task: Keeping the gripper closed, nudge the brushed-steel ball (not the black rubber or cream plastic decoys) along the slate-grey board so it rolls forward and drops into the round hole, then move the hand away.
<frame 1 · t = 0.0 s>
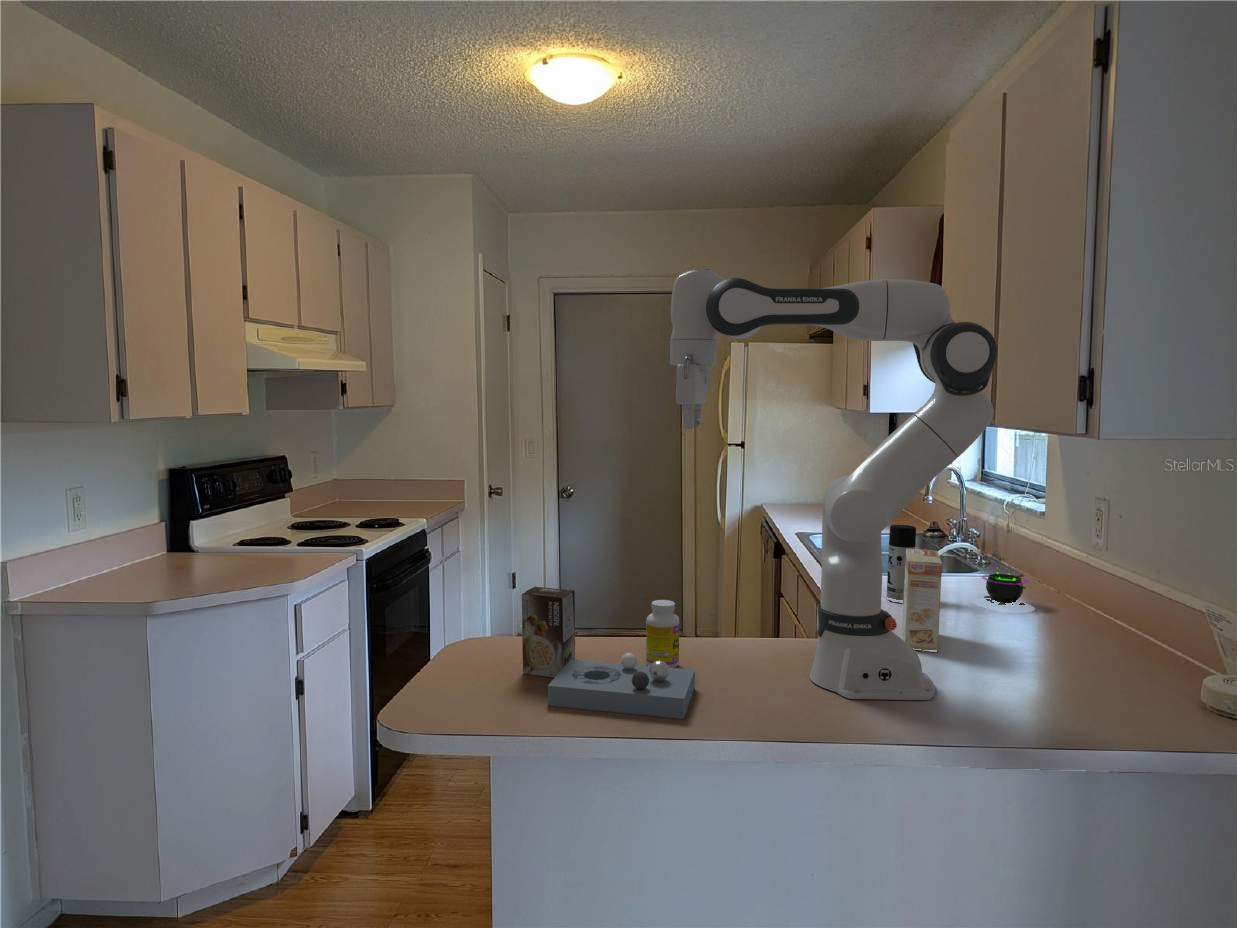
hand: (692, 427, 151), 48 cm above the countertop, fingers open, 8 cm apart
coffeecake box: (919, 642, 173), on the countertop
toy cauldron: (1003, 606, 203), on the countertop
cream ball: (628, 661, 144), point 5 cm above the countertop, touching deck
coffee box: (549, 672, 153), on the countertop
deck: (623, 696, 141), on the countertop
spray can: (899, 601, 207), on the countertop
supplement bottle: (662, 666, 157), on the countertop
steel ball: (659, 670, 139), point 5 cm above the countertop, touching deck
black ball: (640, 680, 135), point 5 cm above the countertop, touching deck
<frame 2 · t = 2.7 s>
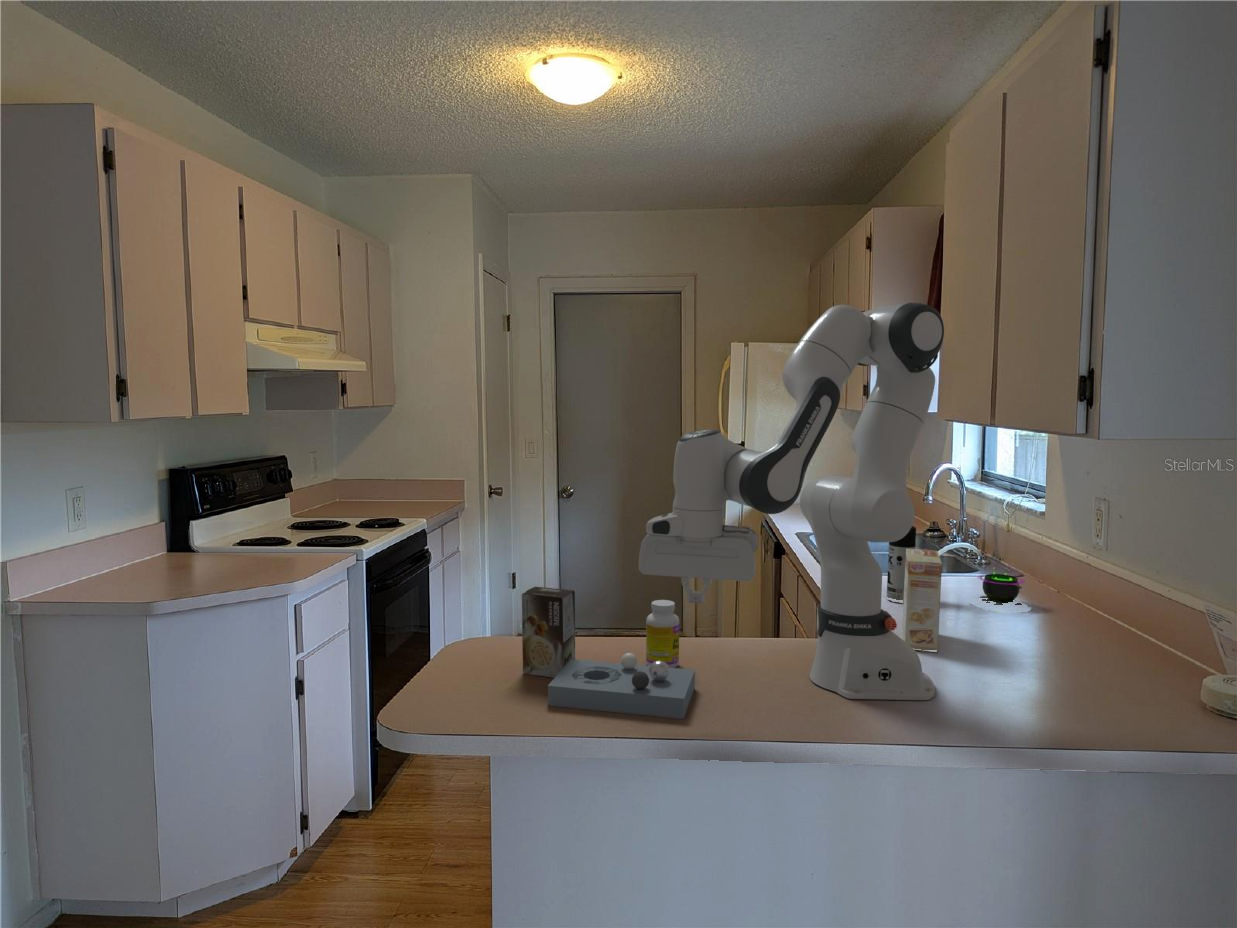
hand: (695, 602, 136), 18 cm above the countertop, fingers closed
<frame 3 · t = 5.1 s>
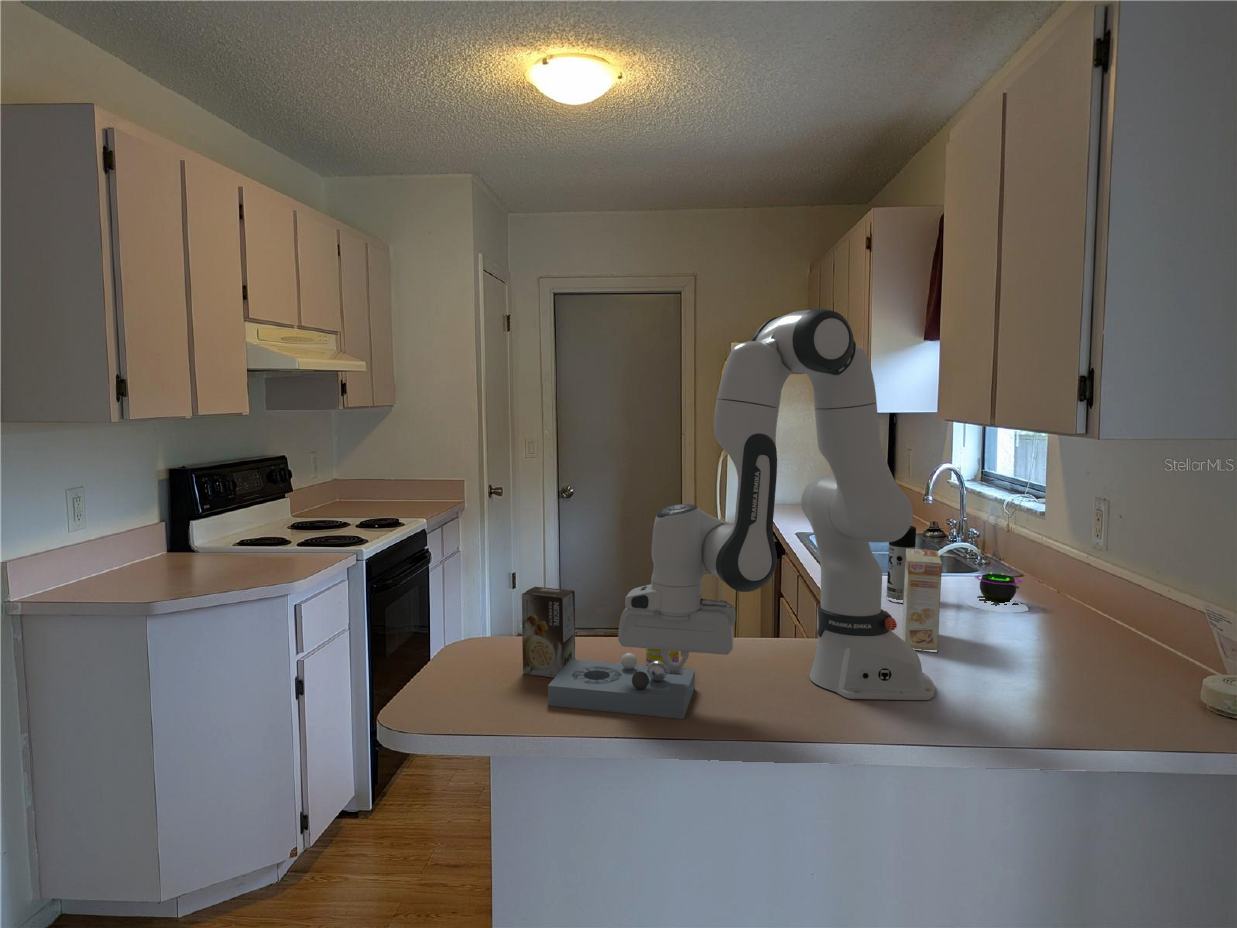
hand: (675, 673, 138), 5 cm above the countertop, fingers closed
steel ball: (657, 670, 139), point 5 cm above the countertop, tilted 10°, touching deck, gripper
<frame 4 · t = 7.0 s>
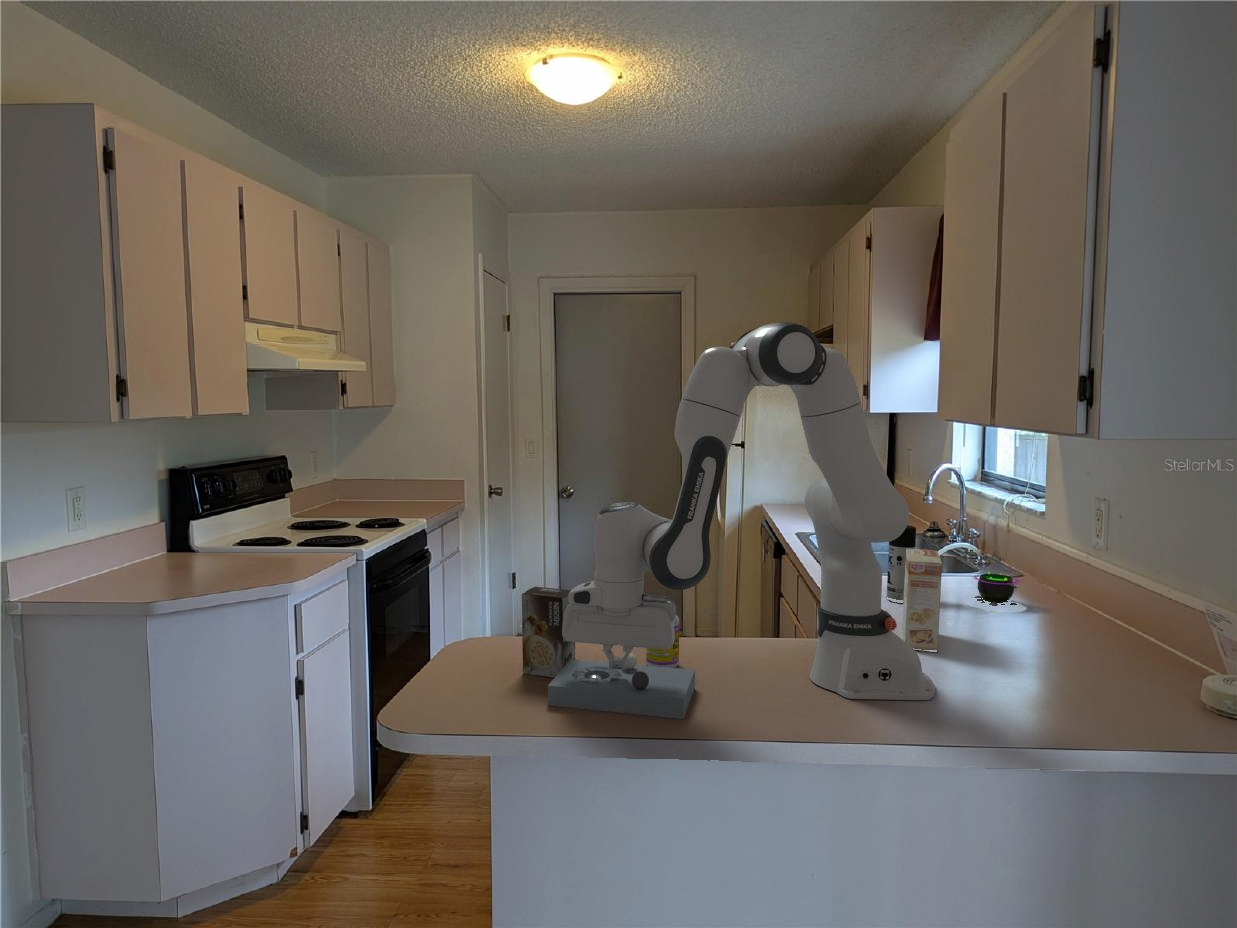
hand: (617, 668, 140), 5 cm above the countertop, fingers closed
steel ball: (594, 684, 141), point 2 cm above the countertop, tilted 95°
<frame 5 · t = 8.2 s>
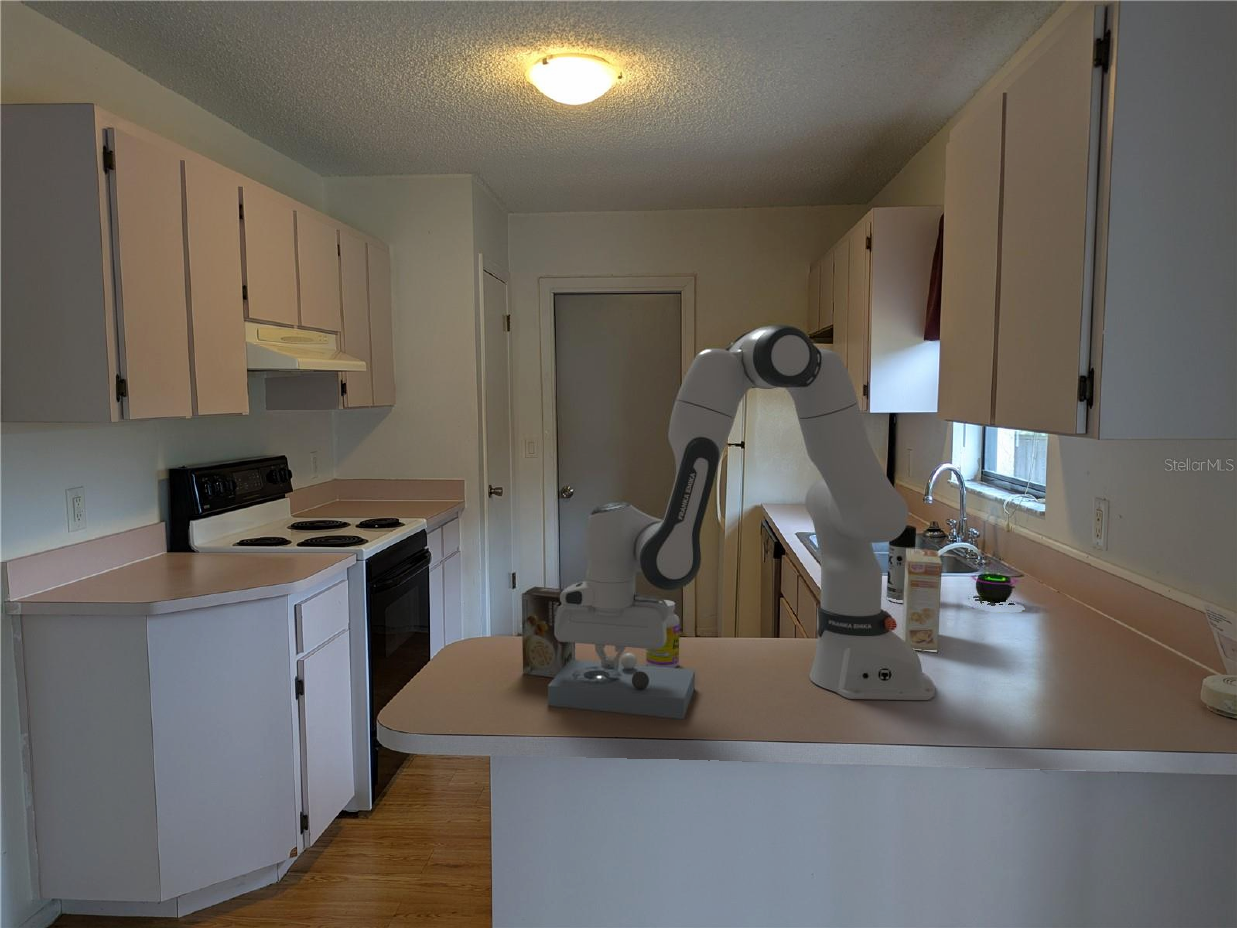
hand: (610, 668, 141), 5 cm above the countertop, fingers closed
steel ball: (599, 685, 141), point 2 cm above the countertop, tilted 64°
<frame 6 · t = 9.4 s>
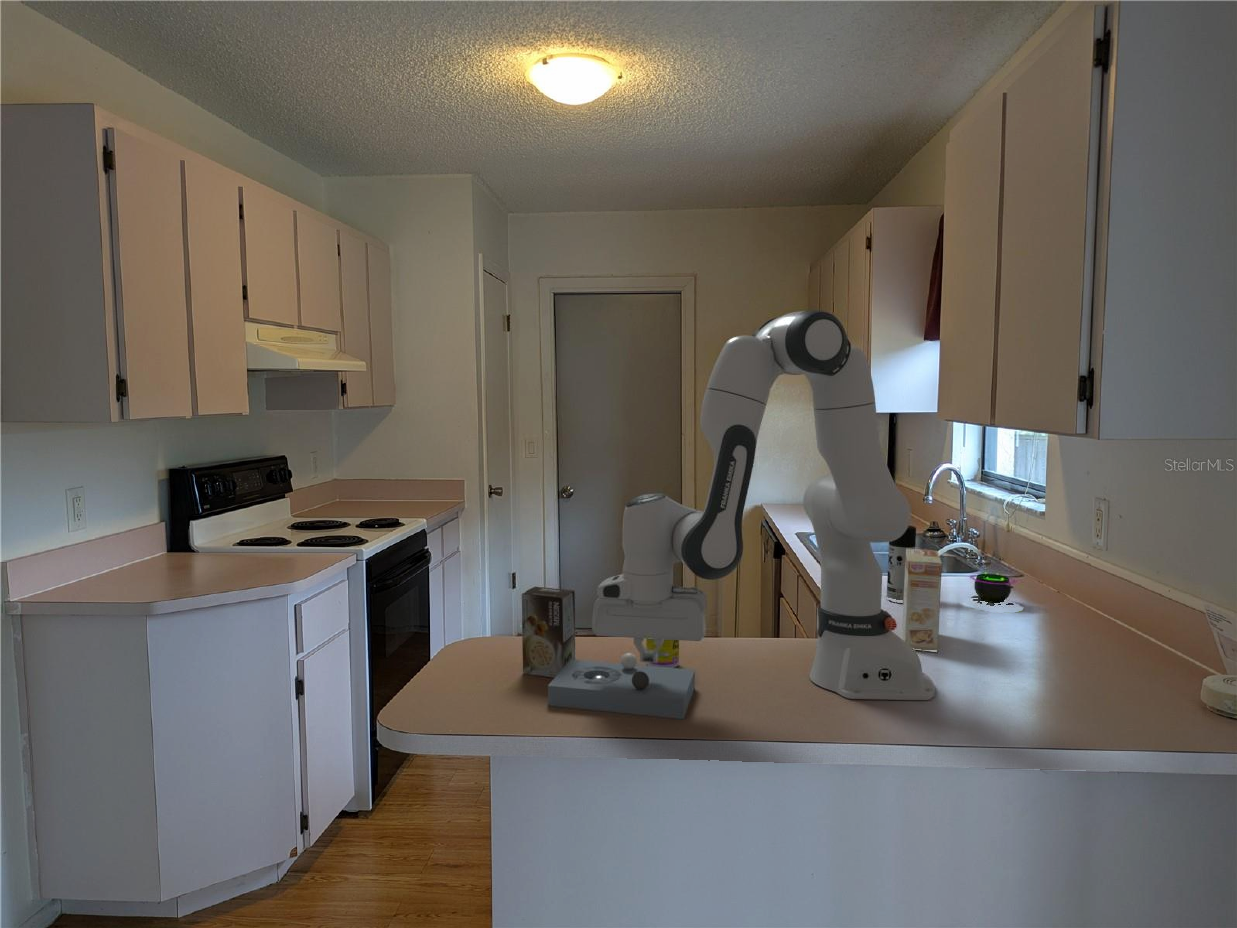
hand: (649, 661, 139), 7 cm above the countertop, fingers closed
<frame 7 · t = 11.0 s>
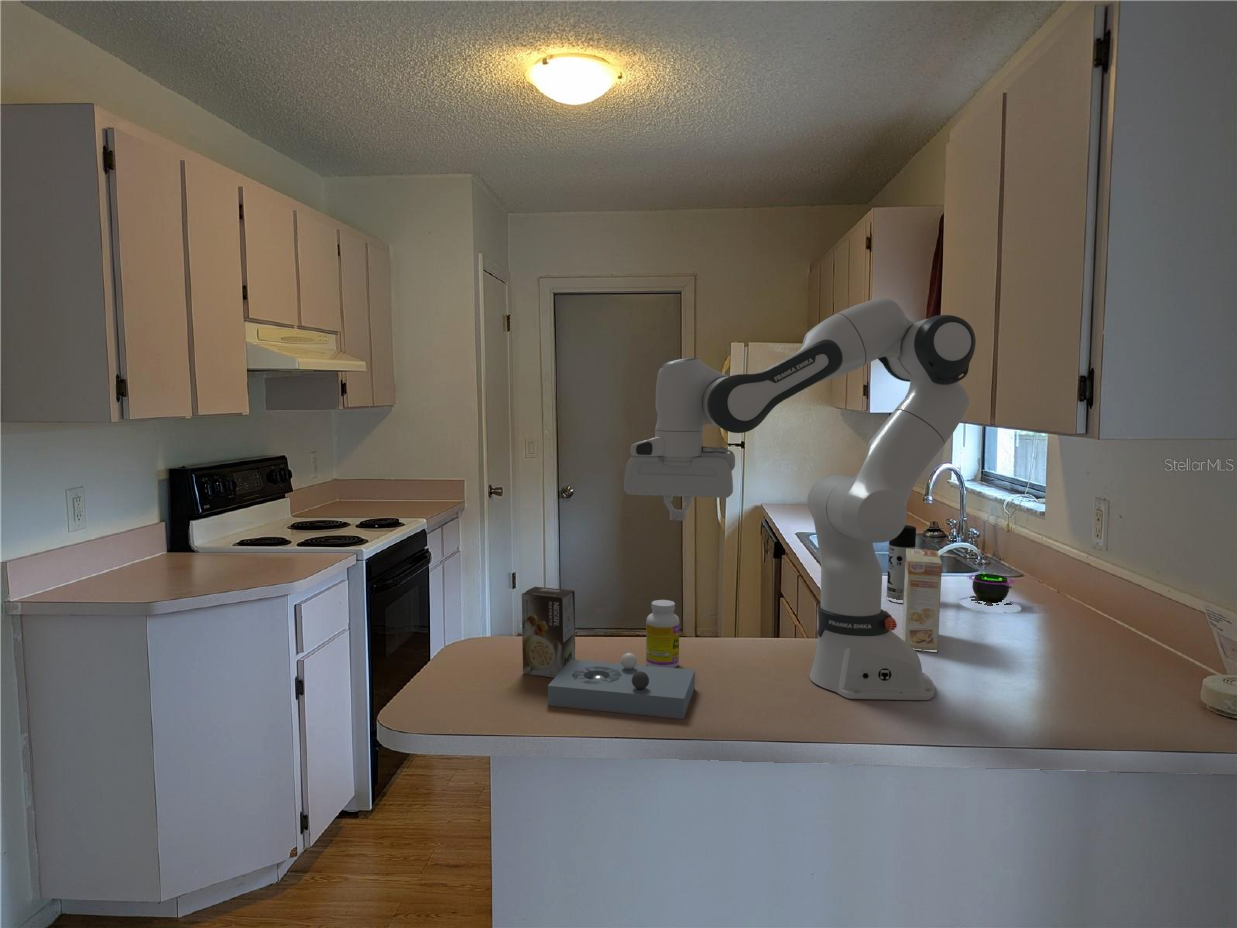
hand: (677, 519, 146), 31 cm above the countertop, fingers closed
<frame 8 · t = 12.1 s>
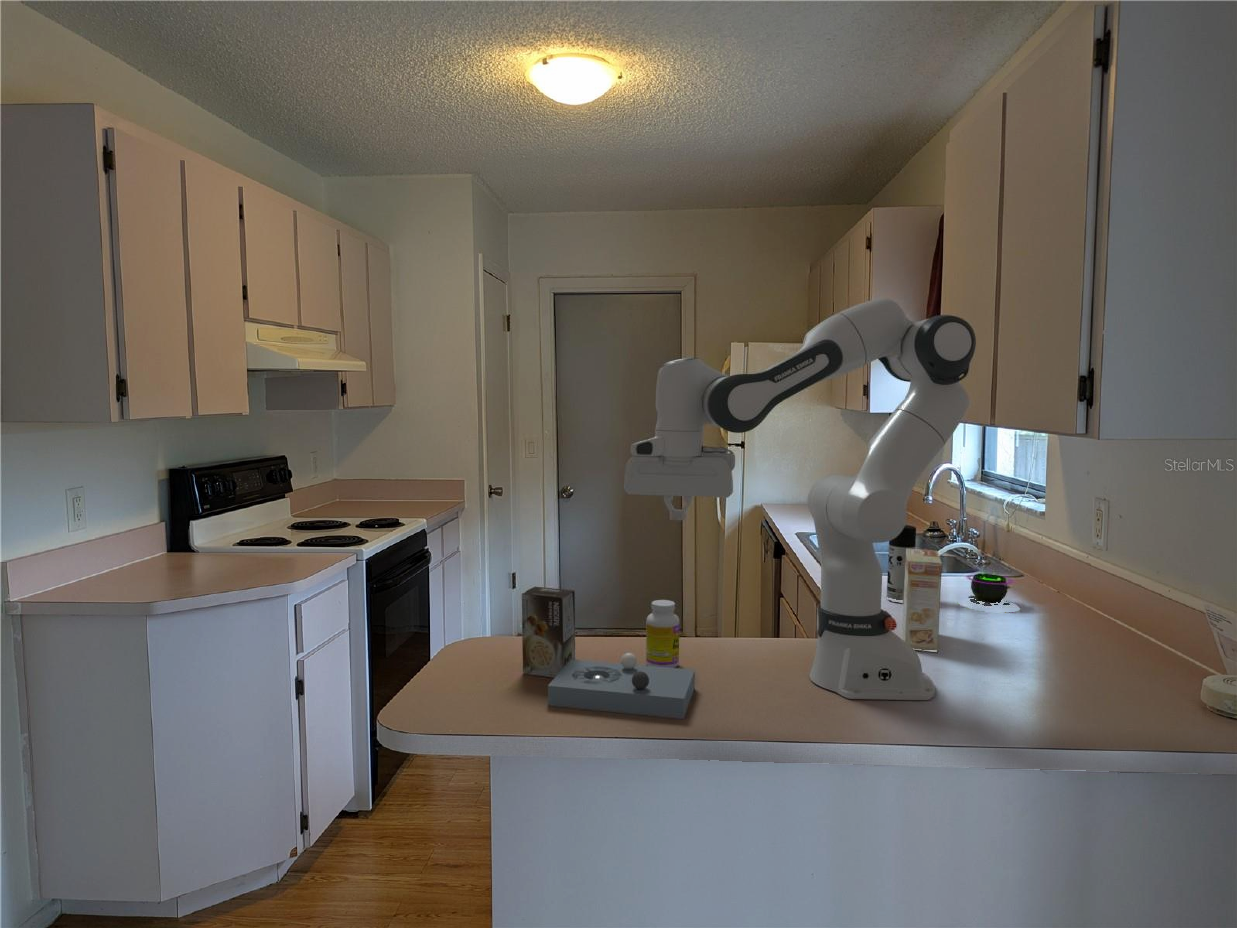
hand: (677, 519, 146), 31 cm above the countertop, fingers closed
at the end: steel ball 0.3 cm from the target spot on the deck, point 1.8 cm above the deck's base; black ball moved 0.0 cm from its start; cream ball moved 0.0 cm from its start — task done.
